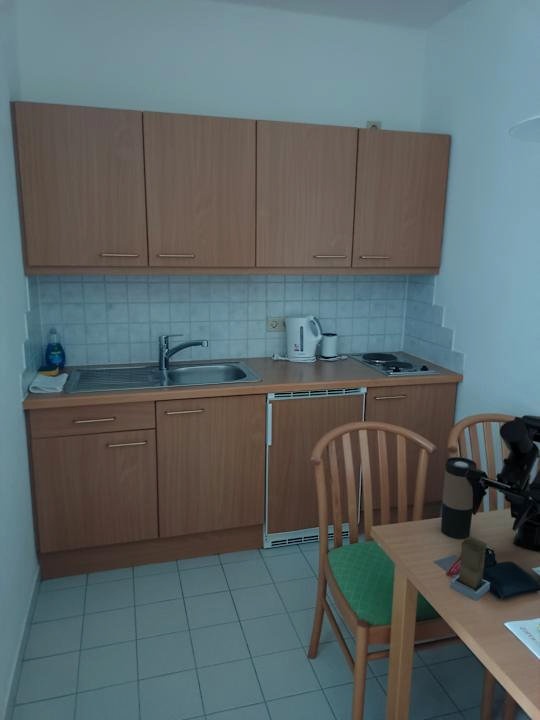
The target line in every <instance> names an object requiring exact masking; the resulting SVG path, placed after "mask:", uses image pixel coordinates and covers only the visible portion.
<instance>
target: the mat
mask: <svg viewBox="0 0 540 720" xmlns="http://www.w3.org/2000/svg"><path fill="white" fill-rule="evenodd" d="M458 558H460V557H458V556H457V555H456V554H452V555H450V556H446V557H443V558H439V559H437V560H433V561H432V562H433V563H434V564H435V565H437V566H438V567H440V568H441V569H442V570H444V571H445V572H447V573H448V570H449V569H450V567H451V566H452V564H453V563H454V562H455V561H457V559H458ZM458 575H459V574H458ZM458 575H451V576H452V577H453V578H455V577H456V576H458Z"/></svg>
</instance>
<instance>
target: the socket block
mask: <svg viewBox="0 0 540 720" xmlns="http://www.w3.org/2000/svg"><path fill="white" fill-rule="evenodd" d="M490 587H491V582H489V581H488V580H485V579H483V580H482V587H481V588H480V589H478V590H477V591H476V592H475V591H474V590H473V589H471V588H469V587H467V586H465V585H463V584H461V583H459V575H458V576H456V577H453V579H451V580H450V587H449V588H450V589H452V590H454V591H456V592H458V593H459V594H461V595H464V596H466V597H468V598H470V599H472V600H474V601H476V602H477V601H478V600H479V599H480V598H481V597H482V596H484V594H486V593H487V592H488V591H490Z"/></svg>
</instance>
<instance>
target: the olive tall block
mask: <svg viewBox="0 0 540 720" xmlns="http://www.w3.org/2000/svg"><path fill="white" fill-rule="evenodd" d="M486 549H487V542H485V541H483V540H480V539H477V538H475V537H473V536H470V535H469V538H466V539H463V541H461V553H460V559H461V561H460V572H459V583H461V584H463V585H465V586H467V587H469V588H471V589H473V590H474V591H475V592H476V591H477V590H478V589H480V588H481V587H482V580H483V578H484V570H485V560H486V559H485V558H486Z"/></svg>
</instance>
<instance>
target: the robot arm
mask: <svg viewBox="0 0 540 720" xmlns="http://www.w3.org/2000/svg"><path fill="white" fill-rule="evenodd" d="M499 436H500V438H501V440H502V441H503V443H504V444H505V446H506V447H505V448H507V450H508V451H509V453H508V455H507V458H505V457H504V458H503V461H502V462H503V465H502V469H500V472H499V473H498V472H497V474H496V475H495V476H496V477H495V478H496V479H492V478H490V477H489V476H488V474H487V473H486V471H483V470H480V469H478V468H476V469H475V468H470V469H468V470H467V472H466V474H465V477H466V479H467V480H468V482H469V484H470V485H471V486H472V491H473V510H472V516H476V515H477V513H478V511H479V509H480V507H481V504H482V501H483V499H484V497H485V496H486V495H487V491H486V490H488V489H489V488H490V489H491V488H492V489H494V490H498V492H499V493H501V494H503V495H504V500H505V501H506V502H508V503H509V506H510V508H509V509H510V517H511V518H513V519H515V520H514V521H513V526H512V528H511V529H512V531H514V532H516V531H517V532H516V533H515V538H514V540H513V545H516V546H519V547H523V548H526V549H530V550H533V551H537V552H540V468H539V469H538V471H537V473H536V475H535V476H534V478H533V480H532V482H531V483H530V481H531V477H532V476H531V473H532V470H533V469H534V466H535V464H536V461H537V459H540V449H539V446H538V445H537V444H540V415H539V416H538V415H532V414H531V415H530V414H528V415H527V414H525V415H523V416H515V417H514V420H509V421H506V422H505V423H504V424H502V425H501V426H500V428H499ZM536 443H537V444H536Z"/></svg>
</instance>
